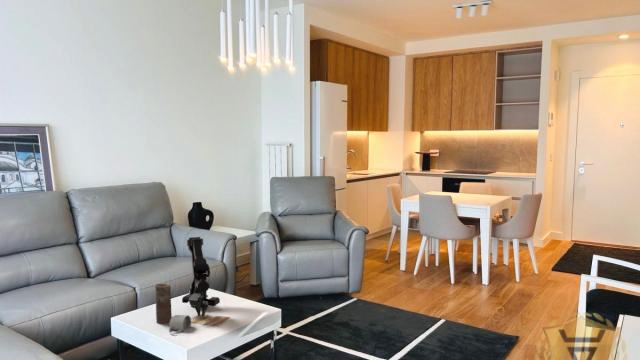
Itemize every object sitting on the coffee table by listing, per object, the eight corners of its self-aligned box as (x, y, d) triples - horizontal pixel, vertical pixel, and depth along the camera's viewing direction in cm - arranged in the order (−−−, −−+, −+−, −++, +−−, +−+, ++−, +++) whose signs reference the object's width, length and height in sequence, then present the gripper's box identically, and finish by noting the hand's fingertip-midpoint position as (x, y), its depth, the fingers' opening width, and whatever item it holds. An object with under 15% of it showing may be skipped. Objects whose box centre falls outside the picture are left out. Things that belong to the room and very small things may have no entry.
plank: (189, 324, 236) (189, 321, 236) (201, 315, 248) (201, 313, 248) (201, 326, 235) (201, 324, 234) (213, 317, 246) (213, 315, 246)
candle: (155, 322, 240) (154, 283, 239) (170, 319, 243) (170, 281, 242) (157, 327, 233) (156, 287, 232) (172, 325, 236) (171, 285, 235)
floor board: (202, 327, 234) (202, 324, 234) (215, 317, 246) (215, 315, 246) (219, 328, 231) (219, 326, 231) (231, 319, 244) (231, 317, 244)
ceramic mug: (176, 326, 234) (176, 311, 233) (191, 328, 232) (191, 313, 231) (164, 335, 224) (164, 319, 223) (180, 337, 222) (179, 321, 221)
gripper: (175, 289, 238) (176, 319, 239) (209, 293, 233) (209, 323, 234) (187, 283, 249) (188, 312, 250) (220, 286, 244) (220, 316, 245)
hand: (201, 316), depth 245 cm, fingers closed on plank, 2 cm apart
